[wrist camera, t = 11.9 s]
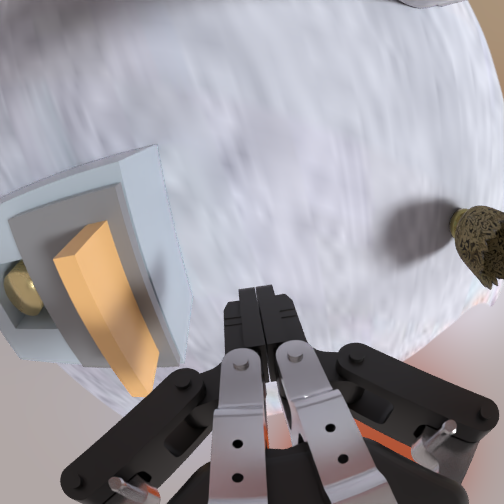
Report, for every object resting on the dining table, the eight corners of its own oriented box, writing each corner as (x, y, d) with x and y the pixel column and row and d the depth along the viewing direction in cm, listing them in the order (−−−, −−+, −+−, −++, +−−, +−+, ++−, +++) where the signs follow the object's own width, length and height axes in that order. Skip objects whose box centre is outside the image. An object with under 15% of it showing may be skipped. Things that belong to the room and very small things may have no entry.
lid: (120, 182, 12) (79, 213, 8) (180, 357, 17) (174, 410, 14) (14, 215, 12) (-29, 247, 8) (86, 359, 17) (70, 402, 13)
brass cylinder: (60, 228, 20) (22, 268, 14) (79, 266, 22) (49, 312, 16) (33, 240, 20) (-4, 279, 14) (51, 275, 22) (21, 318, 16)
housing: (157, 144, 19) (118, 161, 12) (193, 297, 25) (184, 363, 18) (3, 196, 18) (-48, 229, 11) (49, 310, 25) (20, 359, 18)
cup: (425, 223, 24) (476, 261, 17) (464, 176, 22) (519, 202, 15) (447, 262, 26) (488, 301, 19) (482, 220, 24) (526, 250, 17)
